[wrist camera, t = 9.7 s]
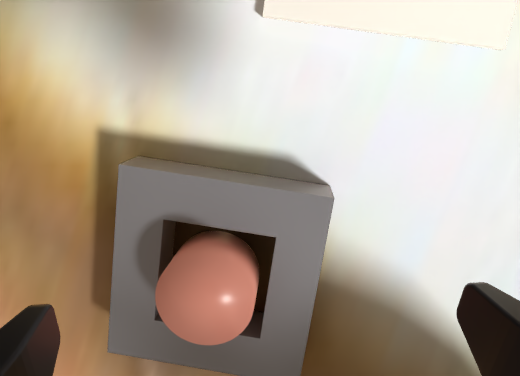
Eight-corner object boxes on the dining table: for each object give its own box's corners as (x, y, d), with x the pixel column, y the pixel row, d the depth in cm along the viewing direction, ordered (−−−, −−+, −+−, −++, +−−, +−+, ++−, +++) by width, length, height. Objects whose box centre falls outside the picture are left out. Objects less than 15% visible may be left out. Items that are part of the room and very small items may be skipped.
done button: (265, 238, 21) (260, 262, 18) (253, 317, 22) (247, 352, 19) (178, 224, 21) (159, 246, 18) (170, 303, 22) (151, 336, 19)
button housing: (329, 185, 21) (334, 197, 19) (298, 355, 24) (298, 386, 21) (138, 156, 22) (118, 164, 19) (126, 325, 24) (107, 352, 22)
